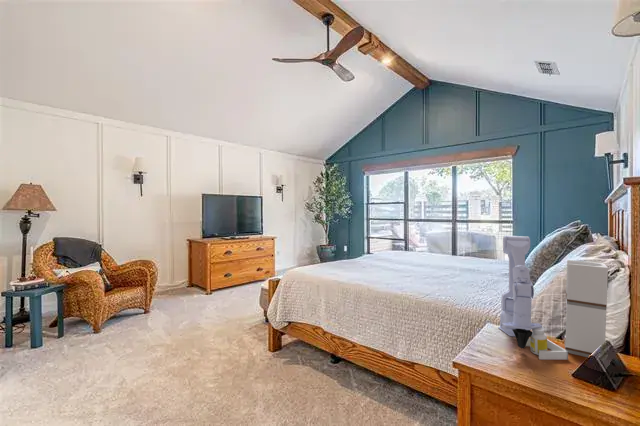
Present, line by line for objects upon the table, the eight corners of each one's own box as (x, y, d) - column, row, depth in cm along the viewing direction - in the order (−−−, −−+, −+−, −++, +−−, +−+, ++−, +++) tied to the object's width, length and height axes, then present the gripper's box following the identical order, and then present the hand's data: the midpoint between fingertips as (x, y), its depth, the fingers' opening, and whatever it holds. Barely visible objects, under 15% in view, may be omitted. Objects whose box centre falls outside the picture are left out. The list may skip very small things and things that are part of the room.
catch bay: (520, 345, 127) (520, 338, 127) (546, 345, 127) (546, 338, 127) (539, 359, 116) (540, 351, 116) (568, 359, 116) (568, 351, 116)
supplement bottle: (549, 351, 120) (549, 328, 119) (544, 357, 117) (543, 333, 116) (533, 346, 125) (533, 323, 123) (528, 351, 122) (527, 328, 120)
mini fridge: (600, 350, 123) (604, 263, 122) (604, 361, 115) (608, 267, 114) (564, 342, 130) (567, 259, 129) (565, 352, 122) (568, 263, 120)
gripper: (510, 316, 117) (509, 352, 117) (548, 317, 117) (547, 352, 117) (499, 310, 124) (498, 343, 124) (535, 310, 124) (534, 343, 124)
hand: (521, 347), depth 121 cm, fingers closed
